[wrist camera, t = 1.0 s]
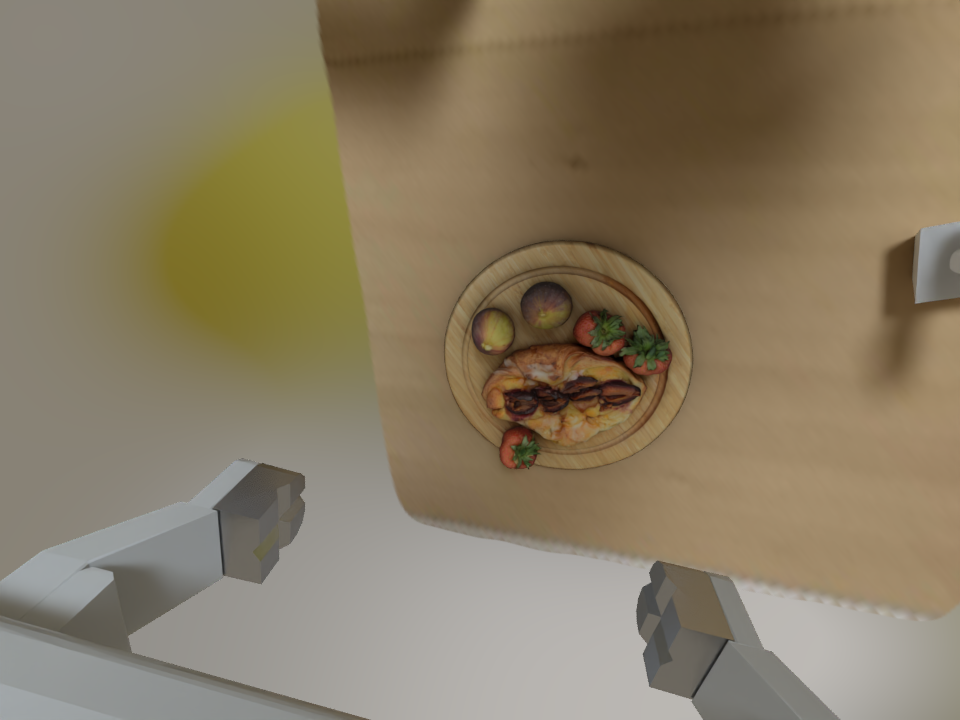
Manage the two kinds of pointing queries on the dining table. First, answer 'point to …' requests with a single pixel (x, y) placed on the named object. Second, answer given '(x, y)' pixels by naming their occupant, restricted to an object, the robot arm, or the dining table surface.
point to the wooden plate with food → (568, 355)
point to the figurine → (937, 263)
